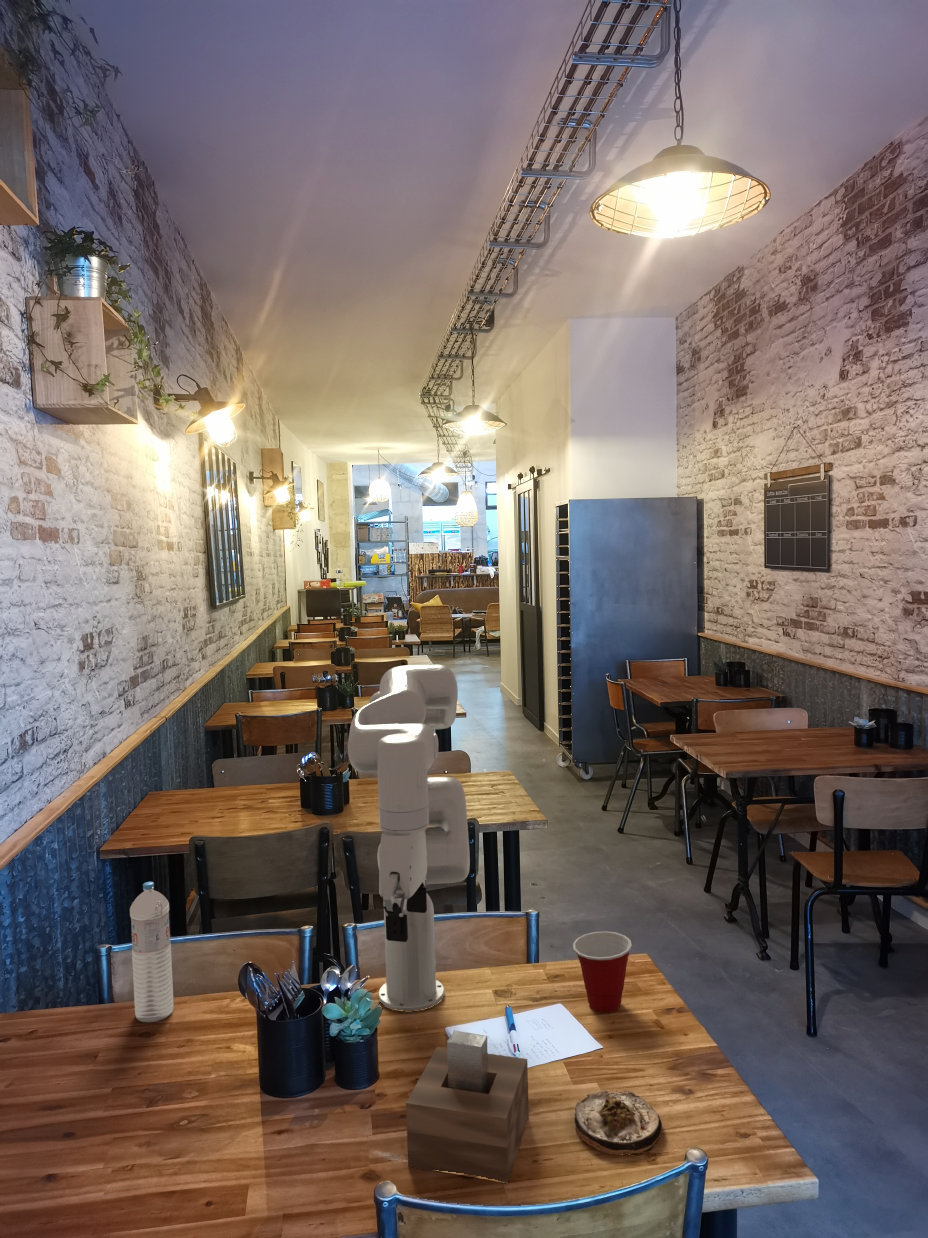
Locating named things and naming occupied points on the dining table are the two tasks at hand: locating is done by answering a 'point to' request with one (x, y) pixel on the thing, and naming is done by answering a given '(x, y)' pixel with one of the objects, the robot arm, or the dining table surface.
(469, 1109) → the wooden slotted box
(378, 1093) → the dining table surface
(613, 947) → the plastic cup
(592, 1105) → the sushi roll
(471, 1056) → the gray rectangular block
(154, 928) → the water bottle
